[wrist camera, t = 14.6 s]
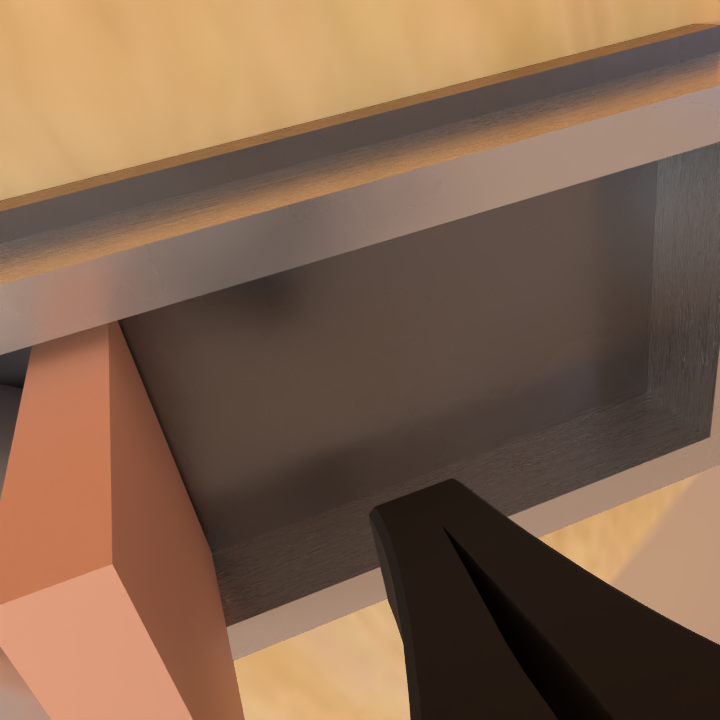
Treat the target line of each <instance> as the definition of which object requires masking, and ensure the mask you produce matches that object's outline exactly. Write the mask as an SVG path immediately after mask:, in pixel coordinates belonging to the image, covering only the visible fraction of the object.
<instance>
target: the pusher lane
mask: <svg viewBox="0 0 720 720" xmlns="http://www.w3.org/2000/svg"><path fill="white" fill-rule="evenodd" d="M113 321H118V323H119V326H120V328H121V331H122V333H123V336H124V338H125V341H126V343H127V346H128V348H129V350H130V353H131V355H132V358H133V360H134V363H135V365H136V368H137V370H138V373H139V375H140V378H141V380H142V382H143V385H144V387H145V390H146V392H147V395H148V397H149V400H150V402H151V405H152V407H153V410H154V412H155V414H156V417H157V419H158V422H159V424H160V427H161V429H162V432H163V434H164V437H165V439H166V442H167V444H168V446H169V449H170V451H171V454H172V456H173V459H174V461H175V464H176V466H177V469H178V471H179V474H180V476H181V478H182V481H183V483H184V486H185V488H186V491H187V493H188V496H189V498H190V501H191V503H192V506H193V508H194V510H195V513H196V515H197V518H198V520H199V523H200V525H201V528H202V530H203V533H204V535H205V538H206V540H207V542H208V545H209V547H210V550H211V552H212V557H213V562H214V567H215V572H216V577H217V582H218V587H219V592H220V597H221V602H222V608H223V613H224V618H225V623H226V628H227V633H228V638H229V643H230V648H231V653H232V658H233V661H234V660H237V659H239V658H242V657H244V656H247V655H249V654H252V653H254V652H257V651H259V650H262V649H264V648H266V647H269V646H271V645H274V644H276V643H279V642H281V641H284V640H286V639H289V638H291V637H294V636H296V635H299V634H301V633H304V632H306V631H309V630H311V629H314V628H316V627H318V626H321V625H323V624H326V623H328V622H331V621H333V620H336V619H338V618H341V617H343V616H346V615H348V614H351V613H353V612H356V611H358V610H361V609H363V608H366V607H368V606H371V605H373V604H375V603H378V602H380V601H383V600H385V599H388V598H387V594H386V590H385V585H384V581H383V576H382V572H381V568H380V563H379V559H378V555H377V550H376V546H375V541H374V537H373V533H372V528H371V524H370V520H369V514H370V512H371V511H372V510H373V508H374V507H375V506H377V505H380V504H383V503H386V502H388V501H391V500H394V499H397V498H399V497H402V496H405V495H407V494H410V493H413V492H416V491H418V490H421V489H424V488H426V487H429V486H432V485H435V484H437V483H440V482H443V481H446V480H448V479H451V478H454V479H456V480H458V481H460V482H461V483H463V484H464V485H465V486H466V487H468V488H469V489H470V490H472V491H473V492H474V493H476V494H477V495H478V496H479V497H481V498H482V499H483V500H485V501H486V502H487V503H489V504H490V505H491V506H493V507H494V508H495V509H497V510H498V511H500V512H501V513H502V514H504V515H505V516H506V517H508V518H509V519H511V520H512V521H513V522H515V523H516V524H518V525H519V526H520V527H522V528H523V529H525V530H526V531H527V532H529V533H530V534H532V535H533V536H535V537H536V538H539V537H541V536H544V535H546V534H549V533H551V532H554V531H556V530H559V529H561V528H564V527H566V526H569V525H571V524H574V523H576V522H579V521H581V520H583V519H586V518H588V517H591V516H593V515H596V514H598V513H601V512H603V511H606V510H608V509H611V508H613V507H616V506H618V505H621V504H623V503H626V502H628V501H631V500H633V499H636V498H638V497H640V496H643V495H645V494H648V493H650V492H653V491H655V490H658V489H660V488H663V487H665V486H668V485H670V484H673V483H675V482H678V481H680V480H683V479H685V478H688V477H690V476H692V475H695V474H697V473H700V472H702V471H705V470H707V469H710V468H712V467H715V466H717V465H719V464H720V25H704V24H692V25H688V26H684V27H680V28H676V29H672V30H668V31H664V32H660V33H657V34H653V35H649V36H645V37H641V38H637V39H633V40H629V41H625V42H621V43H617V44H613V45H610V46H606V47H602V48H598V49H594V50H590V51H586V52H582V53H578V54H574V55H570V56H566V57H563V58H559V59H555V60H551V61H547V62H543V63H539V64H535V65H531V66H527V67H523V68H519V69H516V70H512V71H508V72H504V73H500V74H496V75H492V76H488V77H484V78H480V79H476V80H472V81H469V82H465V83H461V84H457V85H453V86H449V87H445V88H441V89H437V90H433V91H429V92H425V93H422V94H418V95H414V96H410V97H406V98H402V99H398V100H394V101H390V102H386V103H382V104H378V105H375V106H371V107H367V108H363V109H359V110H355V111H351V112H347V113H343V114H339V115H335V116H331V117H328V118H324V119H320V120H316V121H312V122H308V123H304V124H300V125H296V126H292V127H288V128H284V129H281V130H277V131H273V132H269V133H265V134H261V135H257V136H253V137H249V138H245V139H241V140H237V141H234V142H230V143H226V144H222V145H218V146H214V147H210V148H206V149H202V150H198V151H194V152H190V153H187V154H183V155H179V156H175V157H171V158H167V159H163V160H159V161H155V162H151V163H147V164H143V165H140V166H136V167H132V168H128V169H124V170H120V171H116V172H112V173H108V174H104V175H100V176H96V177H93V178H89V179H85V180H81V181H77V182H73V183H69V184H65V185H61V186H57V187H53V188H49V189H46V190H42V191H38V192H34V193H30V194H26V195H22V196H18V197H14V198H10V199H6V200H2V201H0V385H8V386H12V387H16V388H21V389H23V388H24V383H25V378H26V373H27V368H28V363H29V358H30V354H31V349H32V345H36V344H39V343H42V342H46V341H49V340H52V339H56V338H59V337H63V336H66V335H69V334H73V333H76V332H79V331H83V330H86V329H90V328H93V327H96V326H100V325H103V324H106V323H110V322H113Z"/></svg>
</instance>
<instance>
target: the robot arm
mask: <svg viewBox="0 0 720 720" xmlns="http://www.w3.org/2000/svg"><path fill="white" fill-rule="evenodd" d="M369 520H370V524H371V528H372V533H373V537H374V541H375V546H376V550H377V555H378V559H379V563H380V568H381V572H382V576H383V581H384V585H385V590H386V594H387V598H388V602H389V604H390V607H391V609H392V612H393V615H394V617H395V620H396V623H397V626H398V629H399V632H400V635H401V638H402V641H403V645H404V654H405V664H406V673H407V683H408V693H409V703H410V717H411V720H720V645H719V644H717V643H715V642H713V641H710V640H709V639H707V638H705V637H703V636H701V635H699V634H697V633H695V632H693V631H691V630H689V629H687V628H685V627H683V626H681V625H680V624H678V623H676V622H674V621H672V620H670V619H668V618H666V617H665V616H663V615H661V614H659V613H657V612H655V611H654V610H652V609H650V608H648V607H647V606H645V605H643V604H641V603H640V602H638V601H636V600H634V599H633V598H631V597H629V596H628V595H626V594H624V593H623V592H621V591H619V590H617V589H616V588H614V587H612V586H611V585H609V584H607V583H606V582H604V581H602V580H601V579H599V578H598V577H596V576H594V575H593V574H591V573H590V572H588V571H586V570H585V569H583V568H582V567H580V566H579V565H577V564H576V563H574V562H572V561H571V560H569V559H568V558H566V557H565V556H563V555H562V554H560V553H559V552H557V551H556V550H554V549H553V548H551V547H550V546H548V545H546V544H545V543H543V542H542V541H541V540H539V539H538V538H536V537H535V536H533V535H532V534H530V533H529V532H527V531H526V530H525V529H523V528H522V527H520V526H519V525H518V524H516V523H515V522H513V521H512V520H511V519H509V518H508V517H506V516H505V515H504V514H502V513H501V512H500V511H498V510H497V509H495V508H494V507H493V506H491V505H490V504H489V503H487V502H486V501H485V500H483V499H482V498H481V497H479V496H478V495H477V494H476V493H474V492H473V491H472V490H470V489H469V488H468V487H466V486H465V485H464V484H463V483H461V482H460V481H458V480H456V479H454V478H451V479H448V480H446V481H443V482H440V483H437V484H435V485H432V486H429V487H426V488H424V489H421V490H418V491H416V492H413V493H410V494H407V495H405V496H402V497H399V498H397V499H394V500H391V501H388V502H386V503H383V504H380V505H377V506H375V507H374V508H373V510H372V511H371V512H370V514H369Z"/></svg>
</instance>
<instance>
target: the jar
mask: <svg viewBox="0 0 720 720" xmlns="http://www.w3.org/2000/svg"><path fill="white" fill-rule="evenodd" d="M22 392H23V389H21V388H16V387H12V386H8V385H0V499H1V495H2V490H3V485H4V480H5V475H6V470H7V465H8V461H9V456H10V451H11V446H12V441H13V436H14V431H15V427H16V422H17V417H18V412H19V407H20V402H21V397H22ZM0 720H51V718H50V717H49V715H48V714H47V713H46V711H45V710H44V708H43V707H42V705H41V704H40V703H39V701H38V700H37V698H36V697H35V695H34V694H33V693H32V691H31V690H30V688H29V687H28V685H27V684H26V683H25V681H24V680H23V678H22V677H21V675H20V674H19V673H18V671H17V670H16V668H15V667H14V665H13V664H12V662H11V661H10V660H9V658H8V657H7V655H6V654H5V652H4V651H3V650H2V648H1V647H0Z"/></svg>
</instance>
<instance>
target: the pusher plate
mask: <svg viewBox="0 0 720 720" xmlns="http://www.w3.org/2000/svg"><path fill="white" fill-rule="evenodd" d="M0 647H1V648H2V650H3V651H4V652H5V654H6V655H7V657H8V658H9V660H10V661H11V662H12V664H13V665H14V667H15V668H16V670H17V671H18V673H19V674H20V675H21V677H22V678H23V680H24V681H25V683H26V684H27V685H28V687H29V688H30V690H31V691H32V693H33V694H34V695H35V697H36V698H37V700H38V701H39V703H40V704H41V705H42V707H43V708H44V710H45V711H46V713H47V714H48V715H49V717H50V718H51V720H245V719H244V714H243V709H242V704H241V699H240V694H239V688H238V683H237V678H236V673H235V668H234V663H233V658H232V653H231V648H230V643H229V638H228V633H227V628H226V623H225V618H224V613H223V608H222V602H221V597H220V592H219V587H218V582H217V577H216V572H215V567H214V562H213V557H212V552H211V550H210V547H209V545H208V542H207V540H206V538H205V535H204V533H203V530H202V528H201V525H200V523H199V520H198V518H197V515H196V513H195V510H194V508H193V506H192V503H191V501H190V498H189V496H188V493H187V491H186V488H185V486H184V483H183V481H182V478H181V476H180V474H179V471H178V469H177V466H176V464H175V461H174V459H173V456H172V454H171V451H170V449H169V446H168V444H167V442H166V439H165V437H164V434H163V432H162V429H161V427H160V424H159V422H158V419H157V417H156V414H155V412H154V410H153V407H152V405H151V402H150V400H149V397H148V395H147V392H146V390H145V387H144V385H143V382H142V380H141V378H140V375H139V373H138V370H137V368H136V365H135V363H134V360H133V358H132V355H131V353H130V350H129V348H128V346H127V343H126V341H125V338H124V336H123V333H122V331H121V328H120V326H119V323H118V321H113V322H110V323H106V324H103V325H100V326H96V327H93V328H90V329H86V330H83V331H79V332H76V333H73V334H69V335H66V336H63V337H59V338H56V339H52V340H49V341H46V342H42V343H39V344H36V345H32V349H31V354H30V358H29V363H28V368H27V373H26V378H25V383H24V388H23V392H22V397H21V402H20V407H19V412H18V417H17V422H16V427H15V431H14V436H13V441H12V446H11V451H10V456H9V461H8V465H7V470H6V475H5V480H4V485H3V490H2V495H1V499H0Z"/></svg>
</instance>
